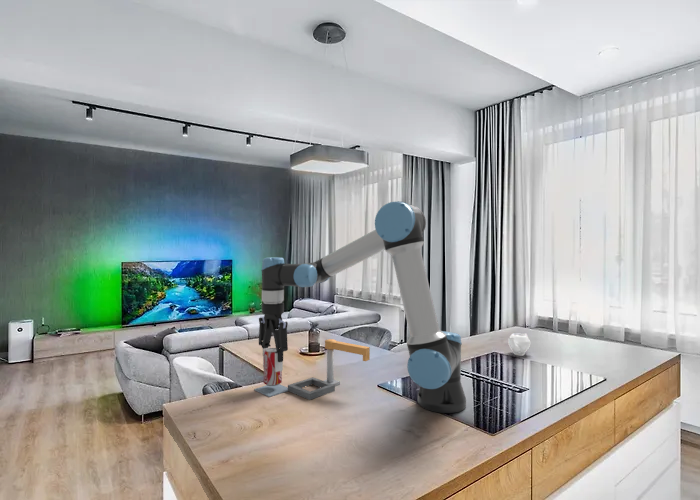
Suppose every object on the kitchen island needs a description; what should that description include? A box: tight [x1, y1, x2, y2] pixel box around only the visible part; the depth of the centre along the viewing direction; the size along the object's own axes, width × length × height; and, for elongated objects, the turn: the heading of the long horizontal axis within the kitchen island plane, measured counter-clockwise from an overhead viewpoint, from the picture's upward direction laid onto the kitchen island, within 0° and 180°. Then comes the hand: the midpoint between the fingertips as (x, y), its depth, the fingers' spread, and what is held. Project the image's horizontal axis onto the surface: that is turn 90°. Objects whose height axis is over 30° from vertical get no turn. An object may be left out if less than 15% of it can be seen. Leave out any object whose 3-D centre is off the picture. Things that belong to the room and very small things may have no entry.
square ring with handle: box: [287, 349, 341, 401], centre depth 143 cm, size 12×17×13 cm
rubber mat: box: [253, 383, 289, 398], centre depth 141 cm, size 9×9×1 cm
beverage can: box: [263, 347, 283, 386], centre depth 141 cm, size 6×6×12 cm
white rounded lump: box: [507, 332, 531, 357], centre depth 189 cm, size 10×20×9 cm, turn 135°
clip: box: [324, 338, 371, 362], centre depth 143 cm, size 4×18×4 cm, turn 55°
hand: (272, 368), depth 141 cm, fingers closed on beverage can, 6 cm apart
